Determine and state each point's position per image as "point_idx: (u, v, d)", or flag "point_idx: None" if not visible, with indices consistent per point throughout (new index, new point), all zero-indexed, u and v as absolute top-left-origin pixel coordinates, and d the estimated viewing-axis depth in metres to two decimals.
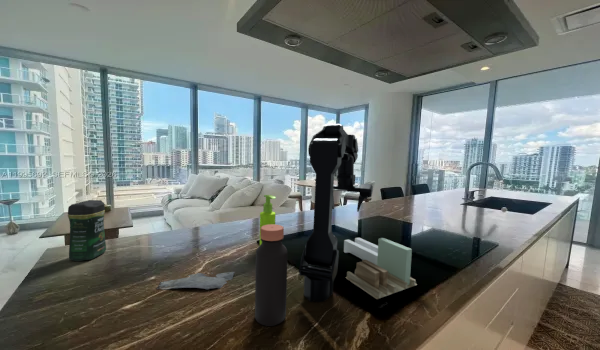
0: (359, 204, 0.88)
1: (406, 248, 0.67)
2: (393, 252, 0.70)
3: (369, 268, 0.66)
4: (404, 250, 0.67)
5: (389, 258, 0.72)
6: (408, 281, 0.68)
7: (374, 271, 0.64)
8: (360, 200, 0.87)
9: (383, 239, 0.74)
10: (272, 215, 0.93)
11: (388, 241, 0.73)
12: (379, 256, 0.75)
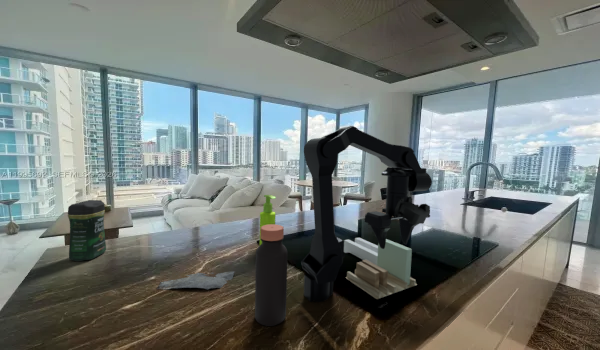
0: None
1: (406, 248, 0.67)
2: (393, 252, 0.70)
3: (369, 268, 0.66)
4: (404, 250, 0.67)
5: (389, 258, 0.72)
6: (408, 281, 0.68)
7: (374, 271, 0.64)
8: None
9: None
10: (272, 215, 0.93)
11: (388, 241, 0.73)
12: (379, 256, 0.75)
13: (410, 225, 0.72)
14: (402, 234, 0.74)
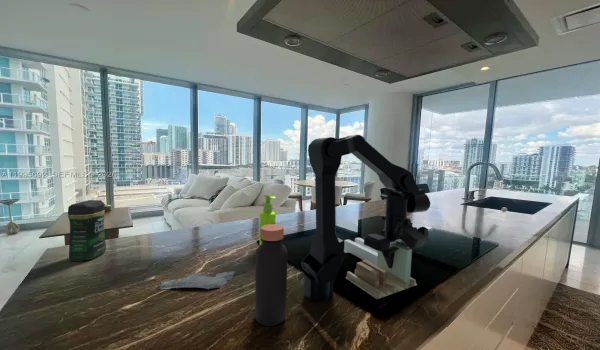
0: None
1: (406, 248, 0.67)
2: None
3: (369, 268, 0.66)
4: (404, 250, 0.67)
5: None
6: (408, 281, 0.68)
7: (374, 271, 0.64)
8: None
9: None
10: (272, 215, 0.93)
11: None
12: (379, 256, 0.75)
13: None
14: None
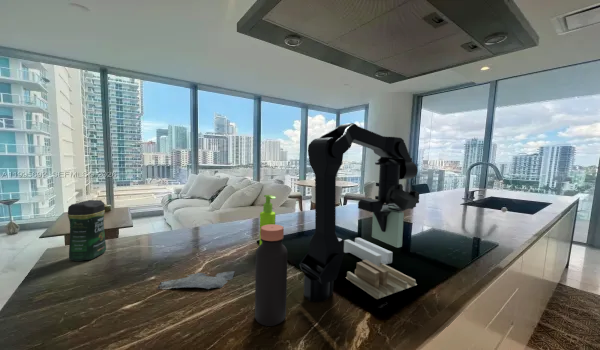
0: None
1: (398, 212, 0.71)
2: None
3: (369, 268, 0.66)
4: (396, 213, 0.71)
5: None
6: (400, 243, 0.71)
7: (374, 271, 0.64)
8: None
9: None
10: (272, 215, 0.93)
11: None
12: (374, 223, 0.78)
13: None
14: None
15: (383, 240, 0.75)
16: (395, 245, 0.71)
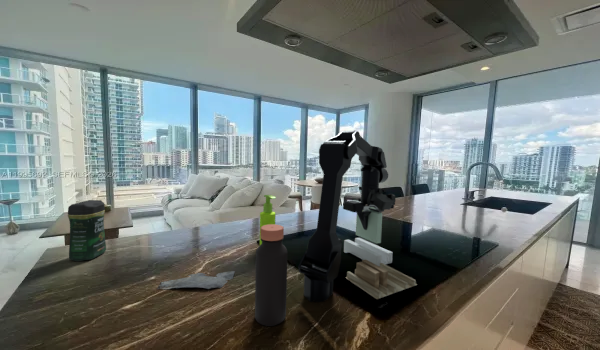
0: None
1: (378, 212, 0.82)
2: None
3: (369, 268, 0.66)
4: (376, 214, 0.81)
5: None
6: (379, 239, 0.82)
7: (374, 271, 0.64)
8: None
9: None
10: (272, 215, 0.93)
11: None
12: (357, 222, 0.89)
13: None
14: None
15: (365, 237, 0.86)
16: (375, 241, 0.82)
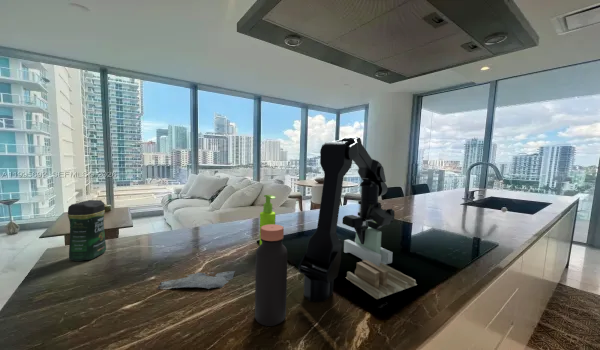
0: None
1: (377, 231, 0.82)
2: (367, 235, 0.85)
3: (369, 268, 0.66)
4: (375, 232, 0.82)
5: None
6: None
7: (374, 271, 0.64)
8: None
9: None
10: (272, 215, 0.93)
11: None
12: (357, 239, 0.90)
13: (376, 227, 0.86)
14: None
15: None
16: None
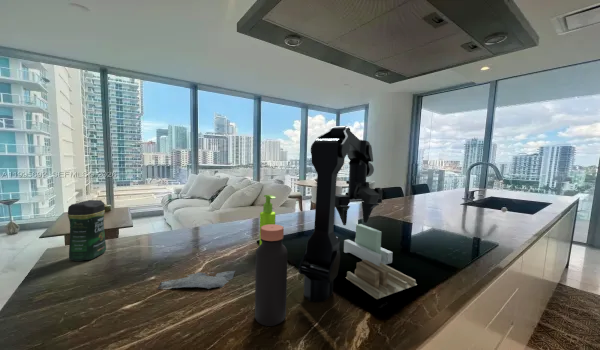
0: None
1: (377, 231, 0.82)
2: (367, 235, 0.85)
3: (369, 268, 0.66)
4: (375, 232, 0.82)
5: (364, 240, 0.86)
6: None
7: (374, 271, 0.64)
8: None
9: (360, 225, 0.89)
10: (272, 215, 0.93)
11: (363, 226, 0.88)
12: (357, 239, 0.90)
13: (369, 207, 0.86)
14: (363, 215, 0.88)
15: None
16: None
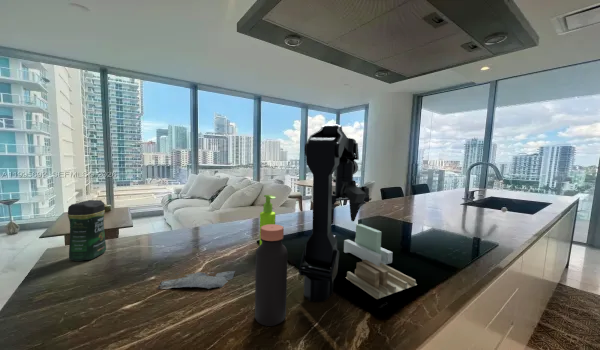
0: None
1: (377, 231, 0.82)
2: (367, 235, 0.85)
3: (369, 268, 0.66)
4: (375, 232, 0.82)
5: (364, 240, 0.86)
6: None
7: (374, 271, 0.64)
8: None
9: (360, 225, 0.89)
10: (272, 215, 0.93)
11: (363, 226, 0.88)
12: (357, 239, 0.90)
13: (356, 205, 0.85)
14: (351, 213, 0.87)
15: None
16: None
